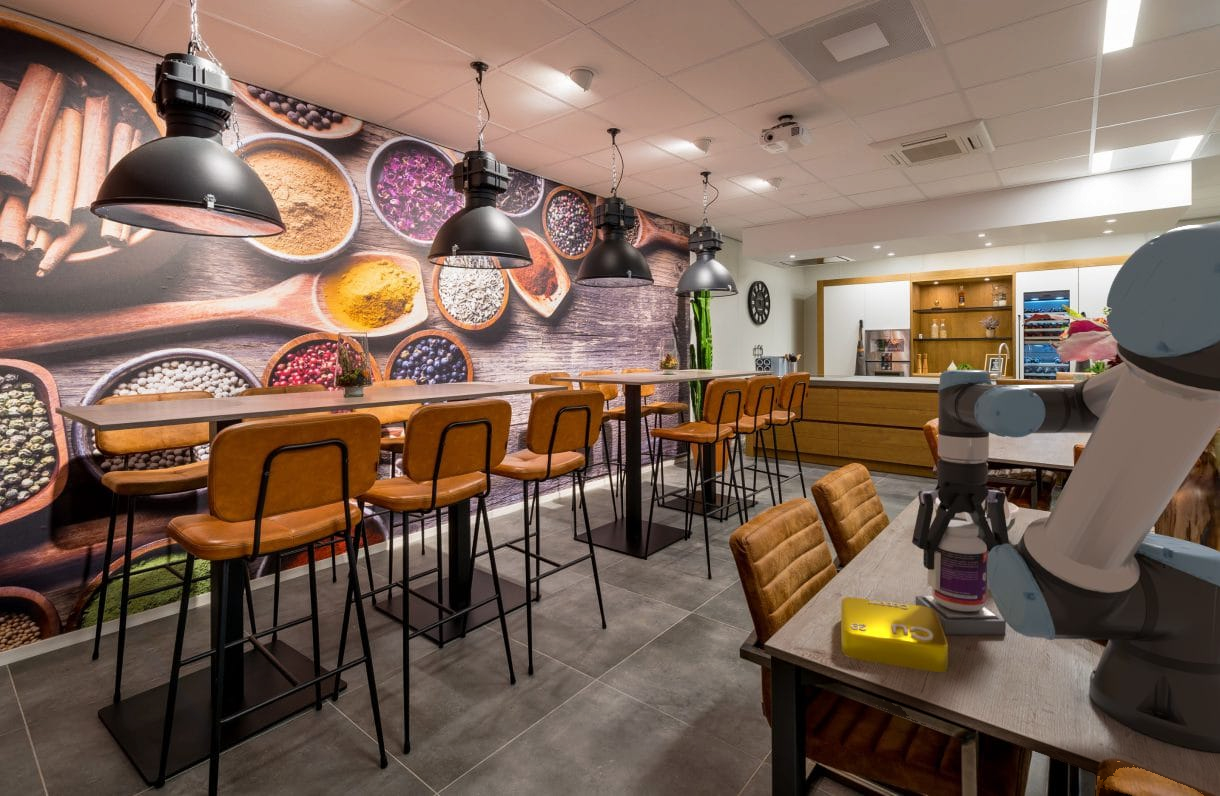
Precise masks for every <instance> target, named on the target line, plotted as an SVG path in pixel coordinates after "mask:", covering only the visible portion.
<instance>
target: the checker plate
mask: <svg viewBox="0 0 1220 796" xmlns="http://www.w3.org/2000/svg"><path fill="white" fill-rule="evenodd" d="M923 596H924V601H925V602H926V603H928V604H929V605H930V606H931V607H932V608H934V609H935V610H936V611H937V612H938V613H939V614H941V615H942V616H943V617H944V618H945V619H946V620H985V619H996V615H994V614H993V613H992V612H990V611H989V610H988V609H989V608H988V609H986V608H985V607H984V608H982V609H981V610H978V611H958V610H953V609H950V608H947V607H945V606H943V605H941V604H939V603H938V602H937V601H936V600H935V599H934V598H933V595H923Z"/></svg>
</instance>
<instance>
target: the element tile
mask: <svg viewBox="0 0 1220 796" xmlns="http://www.w3.org/2000/svg"><path fill="white" fill-rule="evenodd" d="M840 610H841V617H840V619H841V623H840V624H841V625H840V626H841V627H840V628H841V632H840V634H841V638H840V639H841V641H840V642H841V643H840V644H841V650H842V651H841V652H842V653H844V654H845V655H844V654H843V655H844V656H846V655H847V656H846V657H848V656H849V657H848V658H851V659H855V660H861V661H867V662H872V663H878V664H879V663H880V664H884V665H890V666H896V667H904V668H909V669H915V670H921V671H927V672H931V673H932V672H935V673H943V672H947V669H948V664H949V660H948V659H949V643H948V640H947V637H946V635H944V632H943V629H942V626H941V623H940V621H939V618H938V615H937V613H936V611H934V610H933V609H932V608H930V607H925V606H918V605H916V604H908V603H900V602H894V601H893V602H892V601H885V600H875V599H868V598H861V597H854V596H853V597H852V596H846V597H845V598H843V599H842V600H841V609H840Z"/></svg>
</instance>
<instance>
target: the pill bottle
mask: <svg viewBox="0 0 1220 796" xmlns="http://www.w3.org/2000/svg"><path fill="white" fill-rule="evenodd" d="M978 528H979V527H978V525H976V524H974V523H971V522H967V521H960V520H951V521H950V523H949V525H948V527H947V529H946V531H945V533H944V535H943V537H942V539H941V541H940V543H939V545H938V548H937V550H936V551H938V552H939V553H941V564H940V590H935V589H934V588H933V587H932V589H931V590H932V596H933V598H934V599H935V600H936V601H937V602H938V603H939V604H941V605H943V606H945V607H947V608H950V609H953V610H958V611H978V610H981V609H982V608H984V606H986V603H987V602H986V601H987V597H986V596H987V595H986V594H987V589H986V561H987V546H986V544H985V542H984V541H983V540H982V539H980V538H978V537H977V536H978V533H979V531H978Z"/></svg>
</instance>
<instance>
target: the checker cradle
mask: <svg viewBox="0 0 1220 796" xmlns="http://www.w3.org/2000/svg"><path fill="white" fill-rule="evenodd" d="M924 596H925V595H921V596H920V595H916V596H915V605H918V606H925V607H930V608H932V607H931V606H930V605H929V604H928V603H926V602H925V601H924ZM984 607H985V608H986V609H988V610H989V611H990V612H992V613H993V614H994V615H996V619H985V620H946V619H945V618H944V617H943V616H942V615H941V614H939V613H938V612H937V611H936V610H935V609H934V608H932V609H933V610H934V611H936V613H937V615H938V618H939V621H940V623H941V626H942V629H943V632H944V635H945V636H1006V627H1007V625H1006V624H1007V622H1006V621H1005V620H1004V619H1003V617H1002V616H1001V615H998V614H997V613H995V612H994V611H992V610H991V609H990V608H989V607H987V606H986V605H985V606H984Z"/></svg>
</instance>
